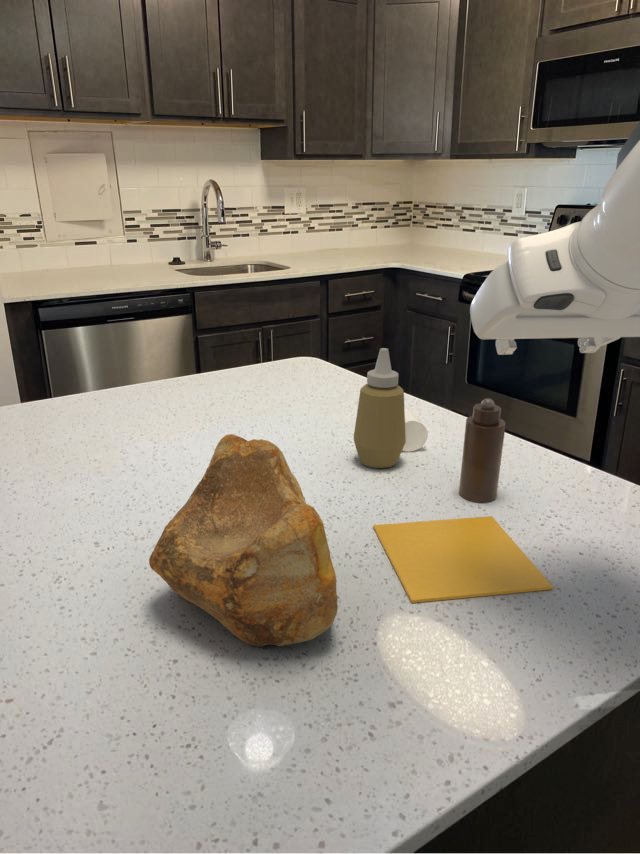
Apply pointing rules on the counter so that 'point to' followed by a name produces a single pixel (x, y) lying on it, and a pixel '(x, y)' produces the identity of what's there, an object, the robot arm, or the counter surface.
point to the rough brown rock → (251, 548)
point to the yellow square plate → (457, 559)
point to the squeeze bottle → (380, 416)
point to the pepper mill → (482, 453)
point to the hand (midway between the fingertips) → (544, 348)
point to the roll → (414, 431)
